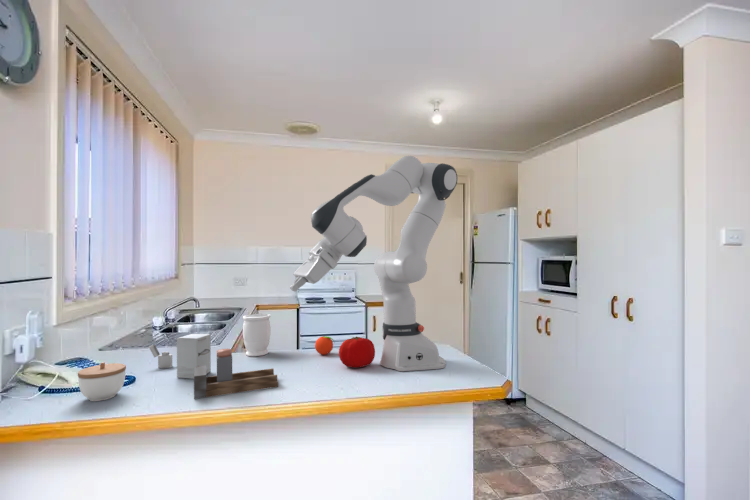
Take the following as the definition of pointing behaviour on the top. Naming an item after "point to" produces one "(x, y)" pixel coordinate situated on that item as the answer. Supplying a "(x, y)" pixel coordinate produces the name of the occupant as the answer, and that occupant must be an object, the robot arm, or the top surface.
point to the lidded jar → (101, 381)
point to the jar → (256, 334)
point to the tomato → (357, 352)
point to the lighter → (162, 357)
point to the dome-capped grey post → (224, 365)
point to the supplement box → (193, 354)
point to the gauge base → (232, 382)
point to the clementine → (324, 345)
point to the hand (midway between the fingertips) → (292, 290)
